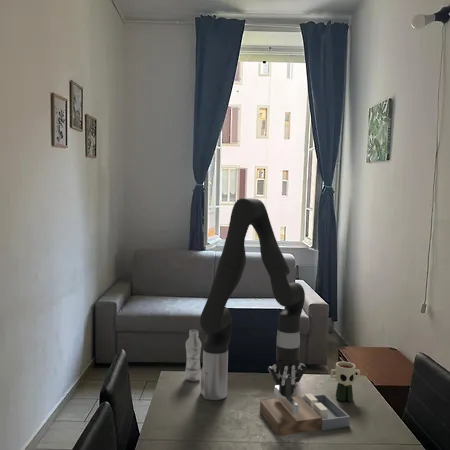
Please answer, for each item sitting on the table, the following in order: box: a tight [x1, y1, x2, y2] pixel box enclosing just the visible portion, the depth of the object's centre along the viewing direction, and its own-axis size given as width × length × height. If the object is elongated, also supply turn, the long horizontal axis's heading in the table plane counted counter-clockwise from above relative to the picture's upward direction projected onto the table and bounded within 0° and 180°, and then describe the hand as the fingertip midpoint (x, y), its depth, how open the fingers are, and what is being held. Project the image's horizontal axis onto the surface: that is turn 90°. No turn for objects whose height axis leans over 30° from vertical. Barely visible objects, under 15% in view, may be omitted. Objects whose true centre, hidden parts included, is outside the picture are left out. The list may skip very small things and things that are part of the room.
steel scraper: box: [273, 375, 299, 415], centre depth 150 cm, size 2×15×9 cm, turn 16°
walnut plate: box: [259, 395, 322, 436], centre depth 151 cm, size 15×16×4 cm
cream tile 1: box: [303, 393, 318, 409], centre depth 157 cm, size 5×5×2 cm
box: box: [300, 393, 351, 432], centre depth 155 cm, size 10×17×4 cm, turn 16°
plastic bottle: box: [184, 329, 202, 382], centre depth 181 cm, size 6×7×20 cm
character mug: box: [330, 361, 361, 402], centre depth 168 cm, size 11×7×13 cm, turn 91°
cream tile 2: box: [314, 402, 328, 419], centre depth 151 cm, size 5×5×2 cm
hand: (286, 394), depth 151 cm, fingers closed on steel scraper, 2 cm apart
